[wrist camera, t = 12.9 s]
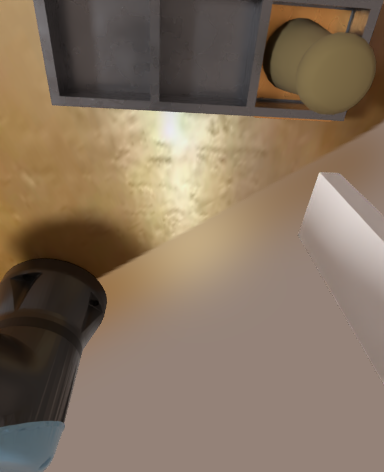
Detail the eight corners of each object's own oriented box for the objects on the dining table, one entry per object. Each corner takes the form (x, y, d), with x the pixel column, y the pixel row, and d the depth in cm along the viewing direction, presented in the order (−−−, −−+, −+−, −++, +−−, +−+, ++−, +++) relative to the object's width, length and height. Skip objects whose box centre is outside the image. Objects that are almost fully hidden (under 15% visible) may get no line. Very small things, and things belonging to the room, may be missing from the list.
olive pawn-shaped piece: (332, 74, 32) (394, 104, 23) (272, 101, 33) (308, 139, 24) (321, 4, 28) (389, 7, 19) (254, 37, 29) (289, 54, 20)
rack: (361, -3, 29) (384, -3, 26) (327, 111, 35) (342, 123, 31) (45, -30, 27) (27, -33, 24) (64, 96, 33) (52, 107, 29)
